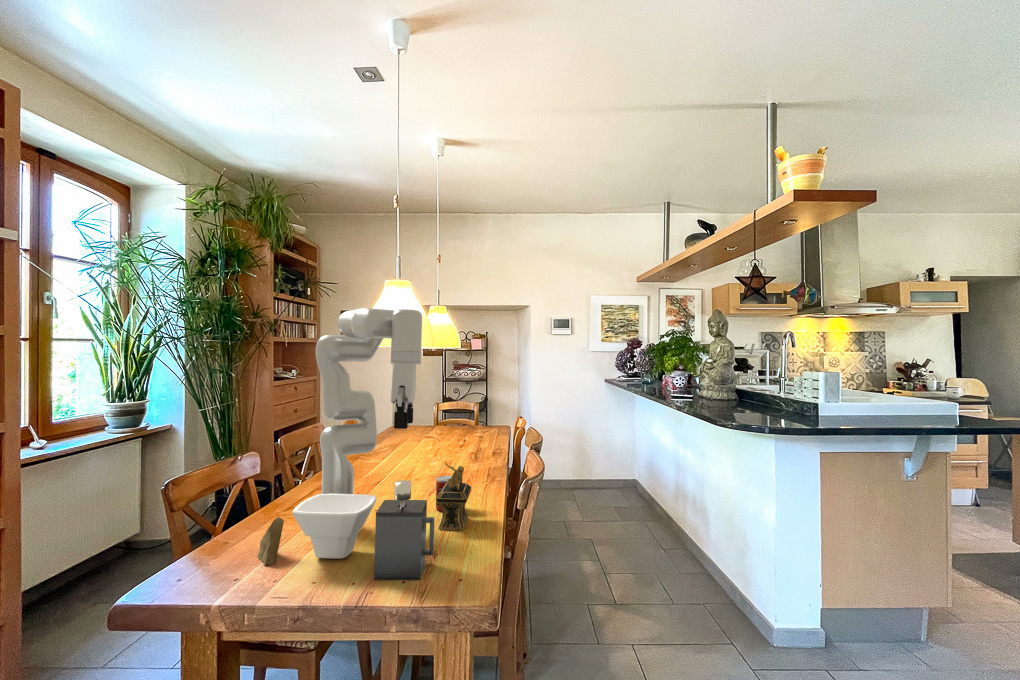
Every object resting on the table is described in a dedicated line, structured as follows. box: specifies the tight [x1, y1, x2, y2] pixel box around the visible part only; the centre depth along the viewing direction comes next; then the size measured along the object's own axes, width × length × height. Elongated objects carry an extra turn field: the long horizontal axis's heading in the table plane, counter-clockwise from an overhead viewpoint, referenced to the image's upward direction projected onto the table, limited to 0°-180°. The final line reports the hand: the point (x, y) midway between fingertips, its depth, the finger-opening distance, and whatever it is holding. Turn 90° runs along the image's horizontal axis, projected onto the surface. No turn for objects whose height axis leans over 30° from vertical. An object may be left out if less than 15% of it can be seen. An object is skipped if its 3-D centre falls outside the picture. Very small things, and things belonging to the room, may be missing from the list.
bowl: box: [291, 493, 377, 559], centre depth 138 cm, size 19×19×14 cm
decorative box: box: [435, 460, 472, 531], centre depth 165 cm, size 20×10×20 cm, turn 179°
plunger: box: [394, 479, 412, 507], centre depth 129 cm, size 9×9×20 cm
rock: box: [257, 516, 285, 566], centre depth 135 cm, size 11×9×10 cm
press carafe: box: [373, 499, 435, 581], centre depth 129 cm, size 14×11×16 cm
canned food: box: [435, 475, 452, 513], centre depth 181 cm, size 8×8×11 cm
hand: (403, 425), depth 131 cm, fingers open, 9 cm apart
